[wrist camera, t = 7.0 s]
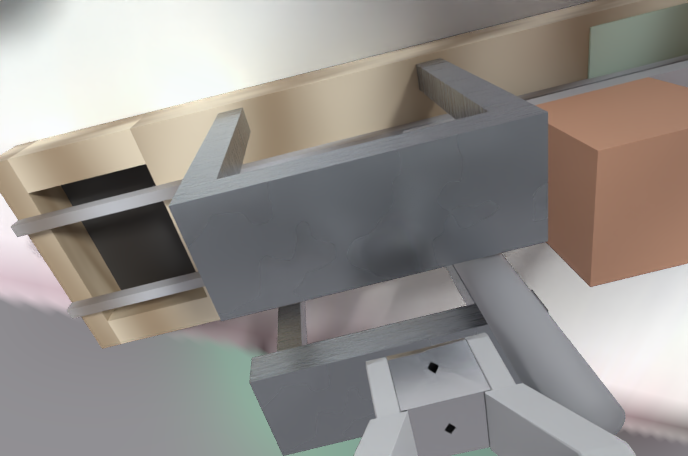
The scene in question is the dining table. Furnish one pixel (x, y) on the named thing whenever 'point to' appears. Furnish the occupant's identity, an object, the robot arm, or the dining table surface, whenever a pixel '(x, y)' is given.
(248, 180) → the tunnel
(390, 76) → the board
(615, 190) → the sled
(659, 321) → the dining table surface
